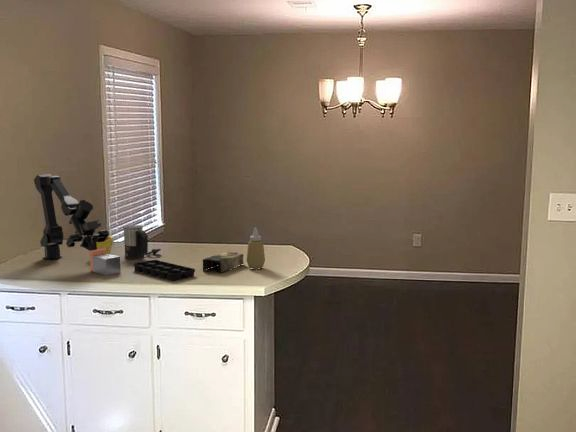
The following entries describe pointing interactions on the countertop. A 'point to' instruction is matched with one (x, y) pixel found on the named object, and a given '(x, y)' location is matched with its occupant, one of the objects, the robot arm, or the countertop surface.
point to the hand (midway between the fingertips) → (96, 253)
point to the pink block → (93, 253)
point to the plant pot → (106, 244)
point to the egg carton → (164, 270)
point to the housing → (106, 264)
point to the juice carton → (223, 261)
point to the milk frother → (136, 242)
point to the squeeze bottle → (255, 251)
